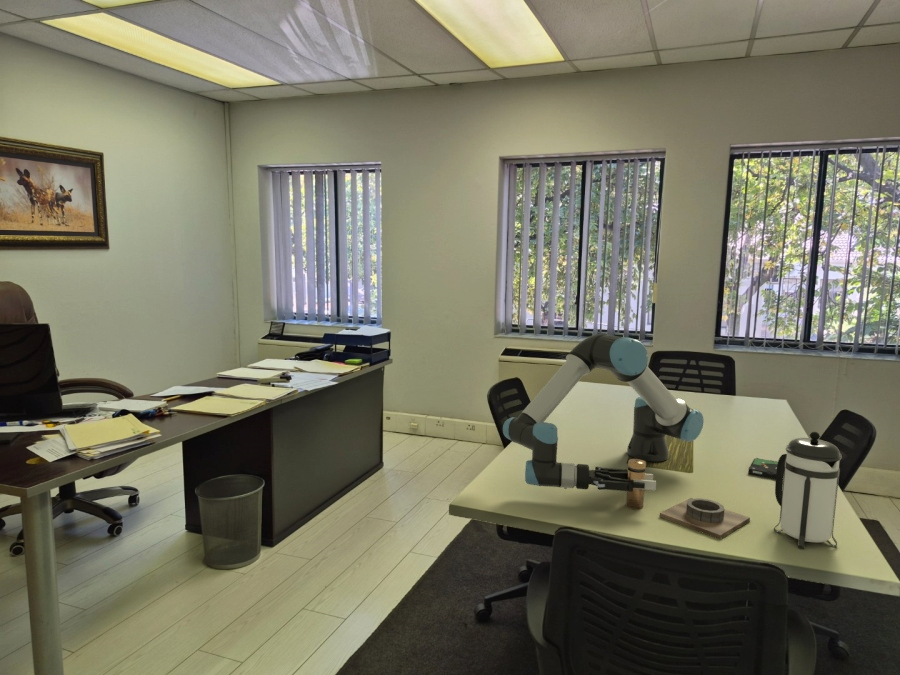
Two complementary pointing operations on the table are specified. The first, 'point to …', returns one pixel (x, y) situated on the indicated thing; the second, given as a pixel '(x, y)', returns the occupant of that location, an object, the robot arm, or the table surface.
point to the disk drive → (763, 468)
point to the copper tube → (636, 472)
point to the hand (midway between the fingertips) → (654, 482)
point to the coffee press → (808, 489)
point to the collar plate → (705, 526)
